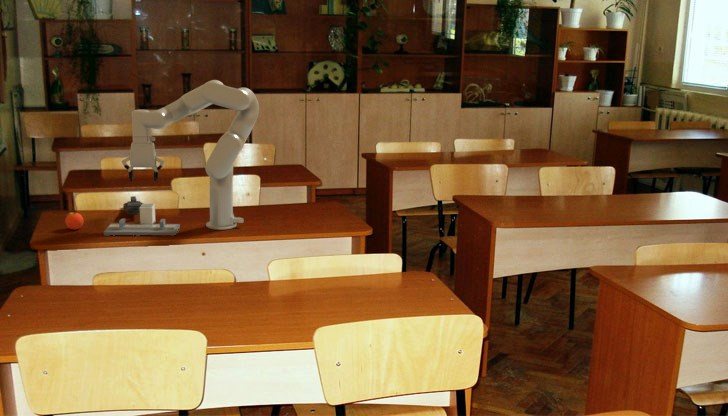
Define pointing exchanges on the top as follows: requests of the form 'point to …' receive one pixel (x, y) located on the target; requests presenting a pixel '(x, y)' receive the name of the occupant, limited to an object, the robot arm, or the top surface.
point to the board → (141, 231)
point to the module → (147, 214)
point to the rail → (142, 226)
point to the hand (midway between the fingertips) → (143, 180)
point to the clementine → (74, 221)
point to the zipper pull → (132, 206)
